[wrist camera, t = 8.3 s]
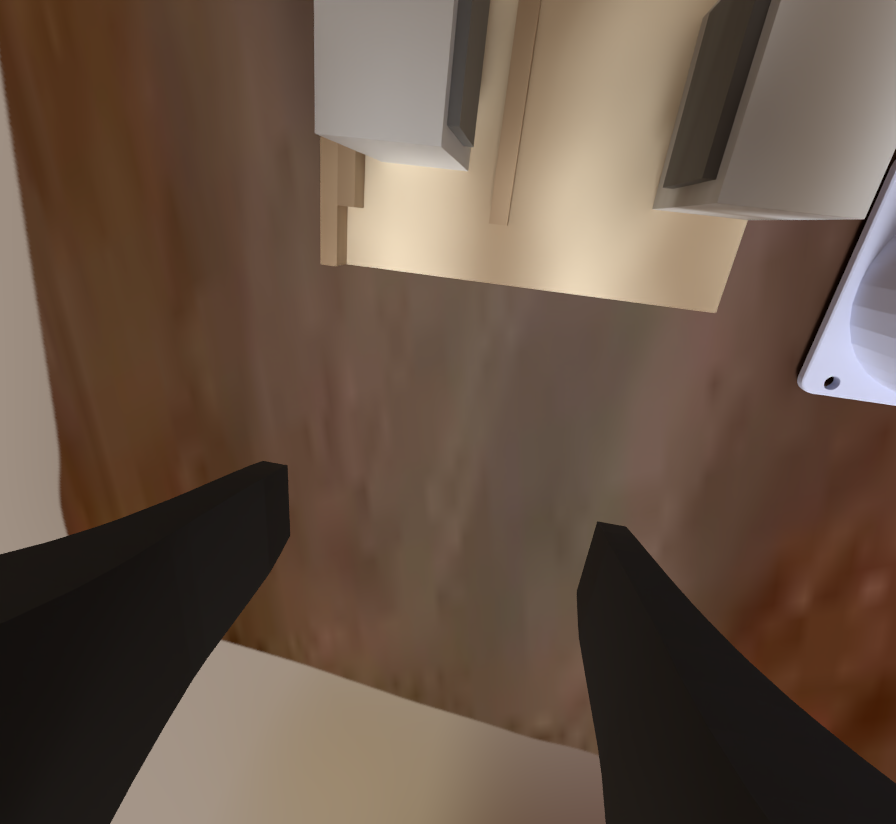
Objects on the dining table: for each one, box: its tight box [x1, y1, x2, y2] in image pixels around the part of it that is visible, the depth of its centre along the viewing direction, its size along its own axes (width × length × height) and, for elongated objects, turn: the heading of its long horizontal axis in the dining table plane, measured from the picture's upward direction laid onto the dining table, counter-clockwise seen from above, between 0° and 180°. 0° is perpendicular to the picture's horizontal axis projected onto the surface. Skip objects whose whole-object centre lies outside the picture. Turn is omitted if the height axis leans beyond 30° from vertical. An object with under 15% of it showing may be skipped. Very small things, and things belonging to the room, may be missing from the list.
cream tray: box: [320, 0, 896, 313], centre depth 12 cm, size 14×11×7 cm
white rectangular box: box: [314, 0, 490, 171], centre depth 12 cm, size 3×5×6 cm, turn 173°
